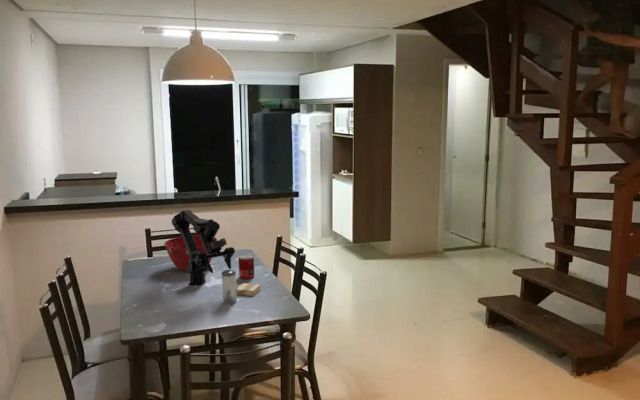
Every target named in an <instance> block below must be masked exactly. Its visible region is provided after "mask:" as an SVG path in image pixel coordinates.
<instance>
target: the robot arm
mask: <svg viewBox="0 0 640 400" xmlns="http://www.w3.org/2000/svg"><path fill="white" fill-rule="evenodd" d="M171 224H172V226H173V228H174V229H175V231H177V232H178V233H179V234H180V237H182V239H183V241H184V244H185V246H186V248H187V251H188V253H189V256H190V257H189V264H188V266H187V271H186V272H187V273H188V274H189V283H188V285H190V286H202V285H203V284H204V283H206V282H207V281H206V274H205V272H206V271H208V272H209V273H211V274H213V273H214V270H213V267H212V266H211V263H209V261H208V259H209V258H212V259H214V258H219V257H223V261H224V262H225V265H226V266H227V268H228V270H232V259H231V258H233V256H234V254H235V252H236V250H235V248H234V246H229V247H225V246H226V245H228V244H227V240H226V238H225V237H223V238H220V239H219V240H218V239H217V241H215V239H214V237H215V238H216V236H217V234H218V231H220V229H221V228H220V226H221V225H220V224H219V222H217V221H215V220H213V219H211V218H210V219H206V218H200V217H199V216H197V215H196V214H194V213H193V212H192V210H191V209H187V210H186V209H184V210H181V211H180V212H179V213H177V214H175V215H174V216H173V217H172V218H171ZM190 225H191V226H192V227H193V231H194V232H195V233H196V234H200V235H201V236H200V241H202V242H203V245H204V247H205V248H204V250H205V251H206V252H207V255H206V253H205V252H201V253H200V252H199V251H198V249H197V247H196V244H195V242H194V240H193V237H192V236H193V235H192V233H191V230H190ZM224 247H225V248H224ZM223 248H224V250H223V251H222V249H223Z"/></svg>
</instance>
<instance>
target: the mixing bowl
mask: <svg viewBox="0 0 640 400" xmlns="http://www.w3.org/2000/svg"><path fill="white" fill-rule="evenodd" d="M200 236H201V234H199V235H198V234H197V235H196V234H195V235H192V237H193V240H194V242H195V244H196V247H197V249H198V251H199V252H200V253H201V252H205V253H206V255H207V252H206V251H205V250H204V248H205V247H204V245H203V242H202V241H200ZM214 239H215V241H218V239H217V238H216V236H215V237H214ZM164 246H165V248H166V252H167V254H168V256H169V258H170V260H171V261H172V263H173V265H174V266H175V267H176V268H178V269H179V270H181V271H182V272H187V266H188V264H189V257H190V256H189V253H188V251H187V248H186V246H185V244H184V241H183V239H182V236H178V237H174V238H171V239H168V240H166V241H164ZM212 259H213V258H209V259H208V261H209V263H210V262H211V261H212ZM210 264H211V263H210Z"/></svg>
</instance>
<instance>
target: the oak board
mask: <svg viewBox="0 0 640 400" xmlns="http://www.w3.org/2000/svg"><path fill="white" fill-rule="evenodd" d="M260 291H261V284H259V283H258V284H255V283H241V284H240V285H239V286H238V287H236V296H237V295H240V296H252V297H254V296H255V295H256V294H257V293H258V292H260Z"/></svg>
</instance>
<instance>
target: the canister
mask: <svg viewBox="0 0 640 400" xmlns="http://www.w3.org/2000/svg"><path fill="white" fill-rule="evenodd" d="M236 274H237V271H236V270H234V269H225V270H223V271H221V278H222V281H221V282H222V284H221V285H222V302H223V303H224V304H225V305H233V304H235V303H237V302H238V301H237V300H238V299H237V294H236V288H237V277H236ZM223 303H222V304H223Z"/></svg>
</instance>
